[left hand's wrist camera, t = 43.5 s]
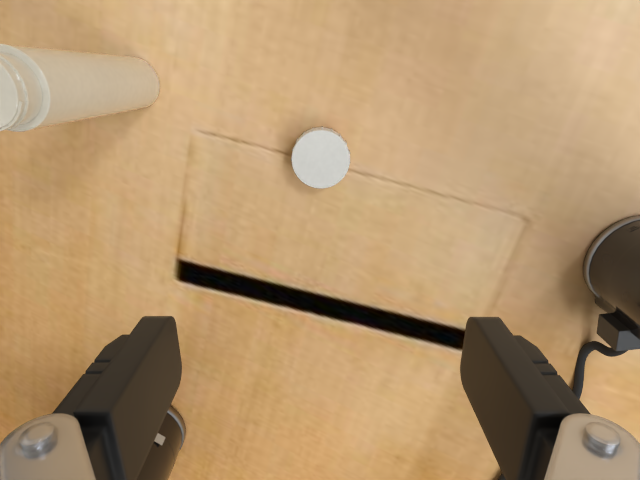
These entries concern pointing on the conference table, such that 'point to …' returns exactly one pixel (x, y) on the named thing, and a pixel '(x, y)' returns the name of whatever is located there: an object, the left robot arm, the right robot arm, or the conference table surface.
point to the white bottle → (69, 86)
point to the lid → (320, 157)
